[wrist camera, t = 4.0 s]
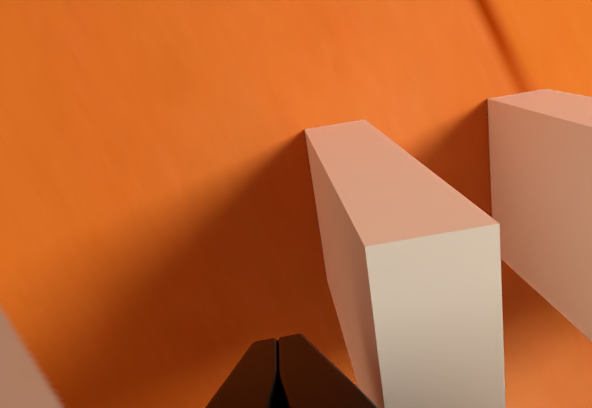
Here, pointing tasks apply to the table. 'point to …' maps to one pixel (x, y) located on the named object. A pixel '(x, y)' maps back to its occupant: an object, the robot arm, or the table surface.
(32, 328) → the table surface
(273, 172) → the table surface
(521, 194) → the domino
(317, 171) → the domino
